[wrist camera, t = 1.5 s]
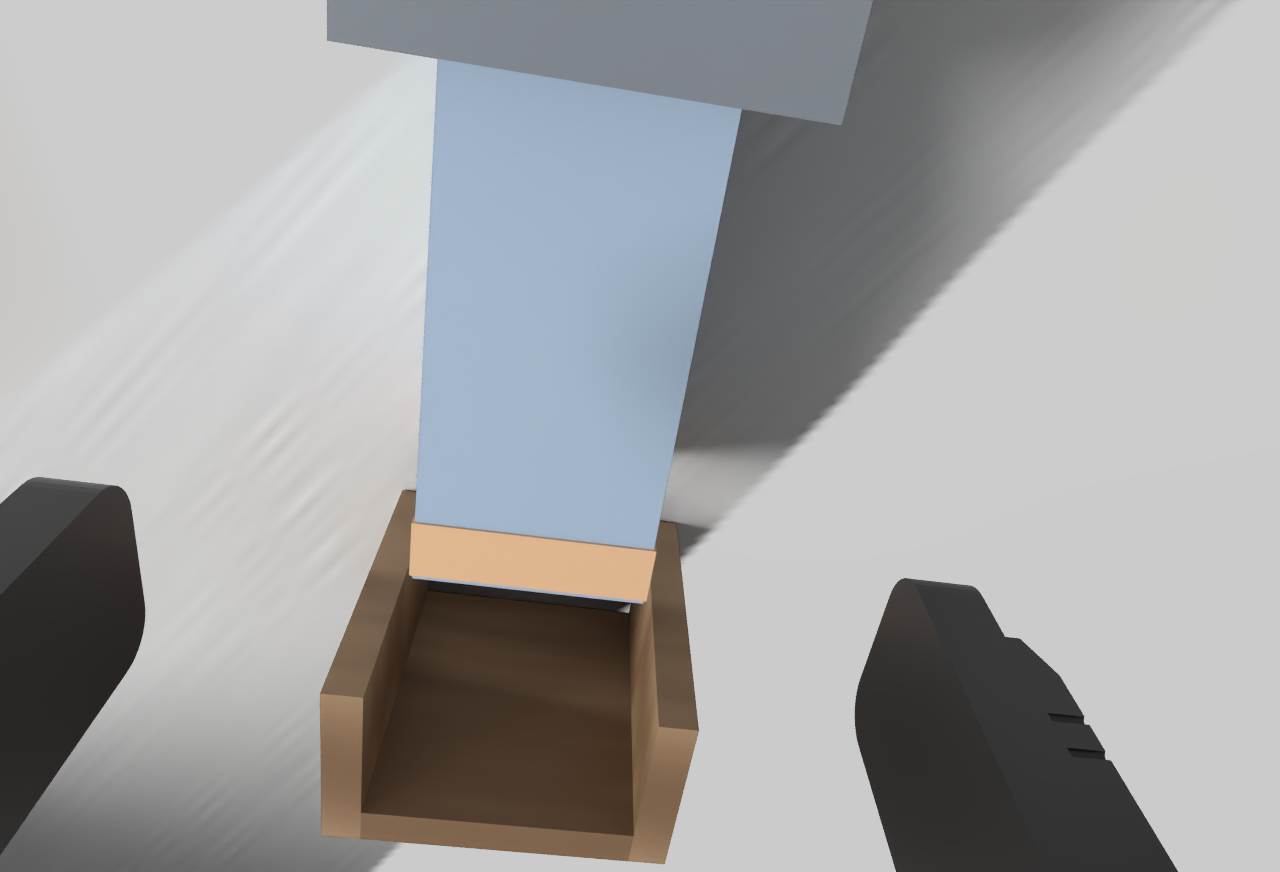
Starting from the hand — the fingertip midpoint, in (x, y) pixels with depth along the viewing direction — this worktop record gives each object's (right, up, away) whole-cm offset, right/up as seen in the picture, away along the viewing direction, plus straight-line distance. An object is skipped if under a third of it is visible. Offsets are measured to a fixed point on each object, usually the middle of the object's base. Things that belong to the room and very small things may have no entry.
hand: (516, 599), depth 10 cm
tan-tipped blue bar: (0, +9, +10) cm, 13 cm away
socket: (-2, -2, +15) cm, 15 cm away
